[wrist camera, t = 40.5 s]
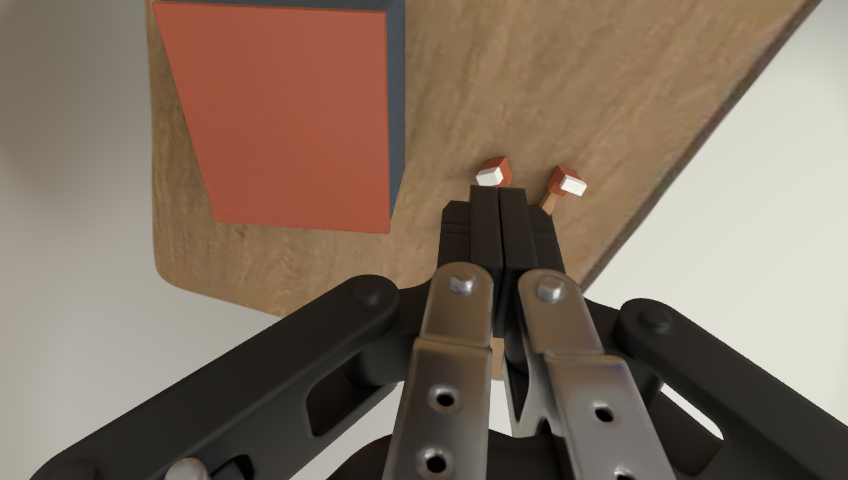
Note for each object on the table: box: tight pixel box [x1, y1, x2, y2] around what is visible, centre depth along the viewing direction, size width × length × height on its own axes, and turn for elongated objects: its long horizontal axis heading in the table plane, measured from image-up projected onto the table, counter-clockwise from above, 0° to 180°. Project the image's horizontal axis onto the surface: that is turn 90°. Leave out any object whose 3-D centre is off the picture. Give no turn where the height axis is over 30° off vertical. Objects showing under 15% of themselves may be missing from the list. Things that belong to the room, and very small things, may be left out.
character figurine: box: [476, 156, 587, 218], centre depth 44 cm, size 12×5×18 cm
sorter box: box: [160, 0, 405, 220], centre depth 34 cm, size 15×14×9 cm
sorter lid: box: [152, 1, 390, 234], centre depth 31 cm, size 15×14×1 cm
